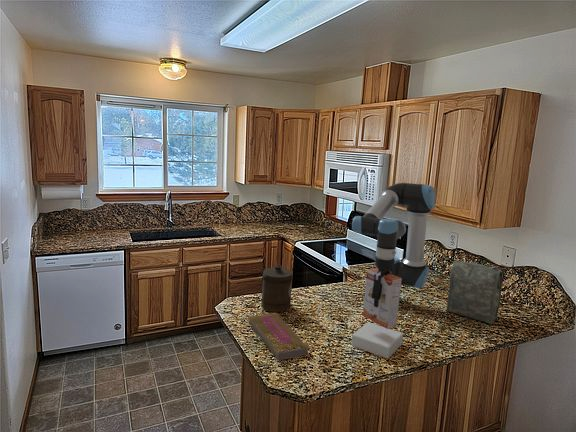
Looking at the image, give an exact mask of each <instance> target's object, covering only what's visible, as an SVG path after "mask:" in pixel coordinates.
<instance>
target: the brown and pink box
mask: <svg viewBox="0 0 576 432" xmlns="http://www.w3.org/2000/svg"><path fill="white" fill-rule="evenodd" d="M247 319H248V321H249V322H248V324H249V325H250V326H251V328H252V329H253V330H254V331H255V334H257V335H258V337H259V338H260V340H261V341H262V342H263V343H264V344H265V346H266V347H267V348H268V350H269V351H270V353H272V355H273V356H274V357H275V358H276V360H277V361H283V360H287V359H292V358H296V357H301V356H307V355H308V351H309V349H311V347H310V346H309V345H308V343H306V342H305V340H303V339H302V337H300V335H298V334H297V332H296V331H295V330H294V329H293V328H291V326H290V325H289V324H287V322H285V320H283V318H281V316H280V315H279V314H278V312H270V313H265V314H262V313H261V315H260V314H257V315H249V316H247ZM283 350H284V351H283Z"/></svg>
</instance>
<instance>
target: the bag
mask: <svg viewBox="0 0 576 432" xmlns="http://www.w3.org/2000/svg"><path fill="white" fill-rule="evenodd" d="M503 276H504V272H503V270H502V269H499V268H497V266H488V265H484V264H480V263H478V262H468V261H465V260H464V261H459V260H457V259H456V260H454V261H453V264H452V267H451V272H450V278H449V285H448V286H449V287H448V298H447V303H446V304H447V305H446V310H445V311H446V312H450V313H453V314H457V315H459V316H463V317H467V318H469V319H473V320H477V321H480V322H484V323H487V324H488V325H492V324H493V323H494V321H495V320H496V319H497V318H498V315H499V308H500V304H501V297H502V290H503V289H502V287H503Z"/></svg>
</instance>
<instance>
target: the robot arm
mask: <svg viewBox="0 0 576 432" xmlns="http://www.w3.org/2000/svg"><path fill="white" fill-rule="evenodd" d="M436 198H437V197H436V191H435V188H434V187H433V185H429V184H423V183H408V182H398V183H395V184H392V185H390V186H388V187H386V188H385V189H384V190H383V191H381V193H379V198H378V199H377V200H376V201H375V202H374V204H373V205H372V206H371V207H369V209H368V210H367V211H366V212H365V214H364V215H363V216H361V215H355V216H354V217H353V219H352V222H351V230H352V231H353V232H354V233H356V234H360V235H366V236H367V235H368V236H374V237H377V239H376V248H375V249H376V250H375V261H374V265H375V268H377V269H378V272H377V275H376V274H375V275H374V284H373V291H372V298H373V299H374V304H373V313H374V314H377V315H380V305H381V299H380V297H381V292H382V284H381V278H382V277H383V276H384V275H386V276H387V275H388V274H392V275H395V276H398V277H400V278H402V281H401V286H407V287H411V288H413V289H414V288H417V289H422V288H424V286H425V284H426V282H427V280H428V275H429V271H430V267H428V266H427V262H426V261H425V260H424V254H425V245H426V244H425V243H426V234H427V233H426V231H427V221H428V215H429V214H431V212H432V210H434V209H435V207H436V202H437V201H436ZM396 206H401V207H406V211H407V213H408V214H409V215H408V226H407V227H408V228H407V227H406V224H405V223H404V222H403V221H402V220H400V219H392V218H385V217H386V216H387V214H388V213H389V212H390V210H392V209H393V208H395V207H396ZM406 231H407V240H406V251H405V258H403V259H402V261H400V258H399V257H397V256H396V254H397V251H396V250H397V240H398V239H401V238H403V236H404V235H405V234H406Z"/></svg>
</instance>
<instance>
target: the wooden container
mask: <svg viewBox="0 0 576 432" xmlns="http://www.w3.org/2000/svg"><path fill="white" fill-rule="evenodd" d="M292 279H293V271H291V270H290V269H287V268H284V267H282V265H281V264H275V265H274V267H268V268H265V269H264V270H263V273H262V286H261V287H262V289H261V308H262V309H264V310H266V311H267V312H271V313H275V312H276V313H280V312H281V313H282V312H285V311H288V310H289V309H290V308H291V304H292V283H293V282H292Z"/></svg>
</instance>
